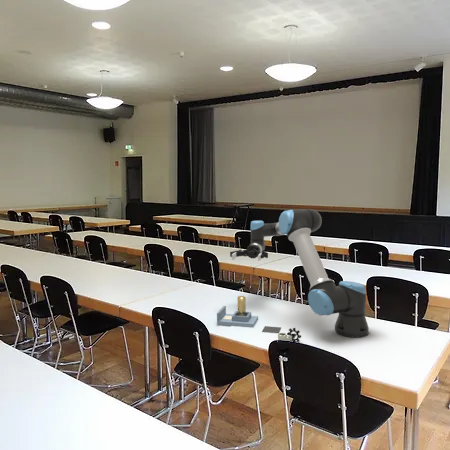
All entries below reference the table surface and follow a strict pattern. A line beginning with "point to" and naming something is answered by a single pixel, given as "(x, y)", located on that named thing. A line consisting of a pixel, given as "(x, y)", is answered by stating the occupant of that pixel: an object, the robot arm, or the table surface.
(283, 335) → the valve
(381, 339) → the table surface
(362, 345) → the table surface
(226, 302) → the table surface
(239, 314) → the brass peg
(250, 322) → the grey socket fixture
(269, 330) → the pad
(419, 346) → the table surface
